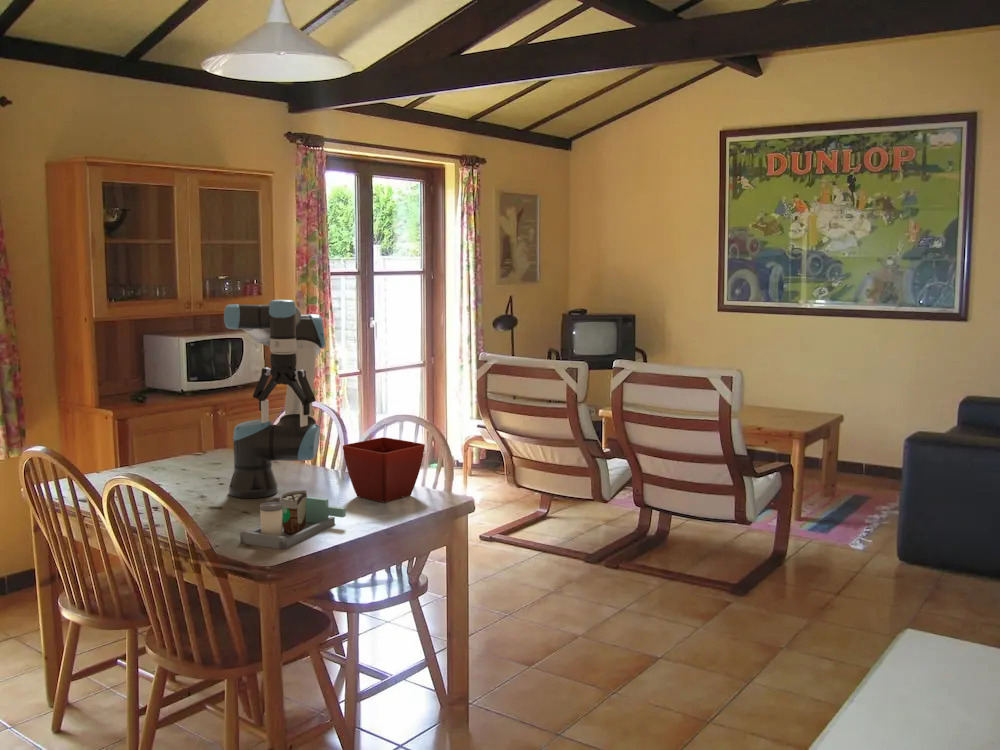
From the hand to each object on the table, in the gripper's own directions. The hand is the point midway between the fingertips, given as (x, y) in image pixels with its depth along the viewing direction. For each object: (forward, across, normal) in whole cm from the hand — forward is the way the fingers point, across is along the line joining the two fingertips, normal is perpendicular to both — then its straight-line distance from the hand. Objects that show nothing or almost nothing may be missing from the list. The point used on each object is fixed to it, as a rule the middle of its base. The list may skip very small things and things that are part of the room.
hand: (284, 424), depth 280 cm
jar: (+26, +15, -28) cm, 41 cm away
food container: (+26, +14, -18) cm, 34 cm away
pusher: (+25, +18, -9) cm, 32 cm away
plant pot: (+27, +18, +28) cm, 43 cm away
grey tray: (+26, +15, -20) cm, 36 cm away
